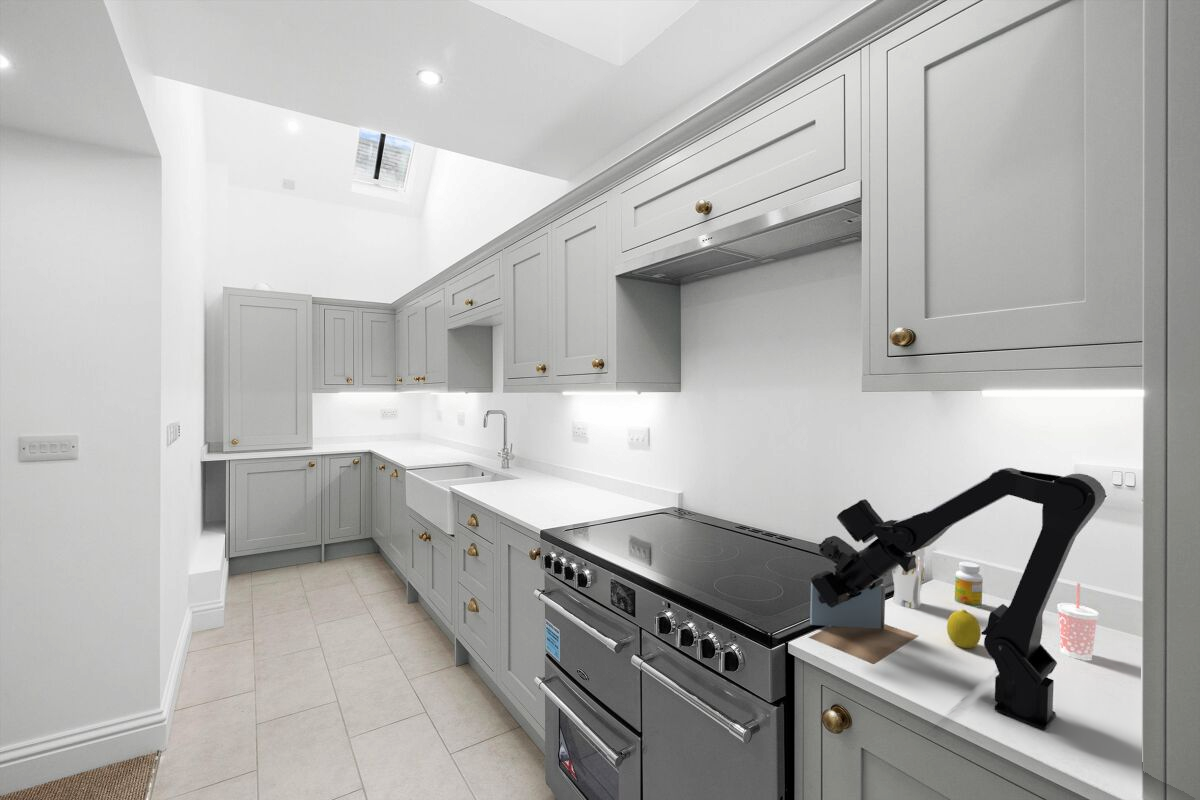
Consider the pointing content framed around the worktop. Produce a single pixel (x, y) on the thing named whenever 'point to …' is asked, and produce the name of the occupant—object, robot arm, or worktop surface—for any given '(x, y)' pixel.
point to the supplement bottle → (968, 585)
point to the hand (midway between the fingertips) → (820, 601)
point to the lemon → (963, 629)
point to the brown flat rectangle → (864, 641)
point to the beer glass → (909, 582)
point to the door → (851, 610)
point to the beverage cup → (1077, 628)
